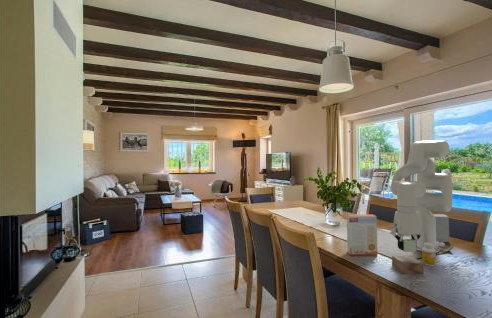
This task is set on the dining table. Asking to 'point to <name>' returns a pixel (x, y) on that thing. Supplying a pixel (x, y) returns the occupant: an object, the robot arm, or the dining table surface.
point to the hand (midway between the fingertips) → (407, 248)
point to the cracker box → (362, 234)
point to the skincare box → (442, 228)
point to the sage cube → (409, 244)
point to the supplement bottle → (429, 254)
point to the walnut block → (408, 265)
